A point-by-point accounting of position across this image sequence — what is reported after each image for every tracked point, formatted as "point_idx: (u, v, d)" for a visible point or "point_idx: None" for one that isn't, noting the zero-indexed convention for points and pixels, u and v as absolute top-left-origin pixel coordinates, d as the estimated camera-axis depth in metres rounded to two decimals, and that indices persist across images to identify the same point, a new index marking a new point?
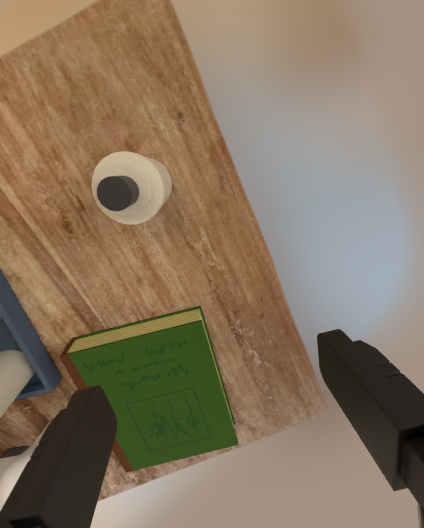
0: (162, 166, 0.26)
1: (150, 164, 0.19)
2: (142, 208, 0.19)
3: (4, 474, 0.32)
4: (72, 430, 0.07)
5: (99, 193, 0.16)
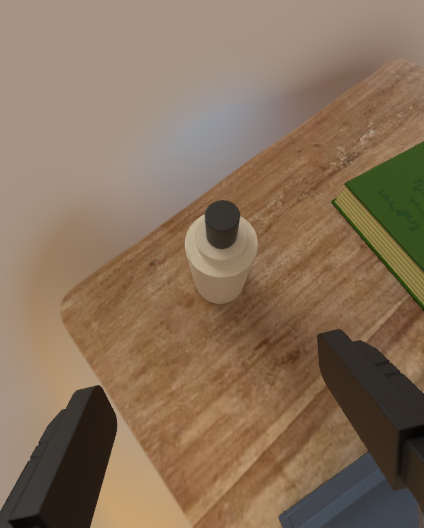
0: None
1: (191, 227, 0.20)
2: None
3: None
4: (72, 430, 0.07)
5: (225, 227, 0.15)
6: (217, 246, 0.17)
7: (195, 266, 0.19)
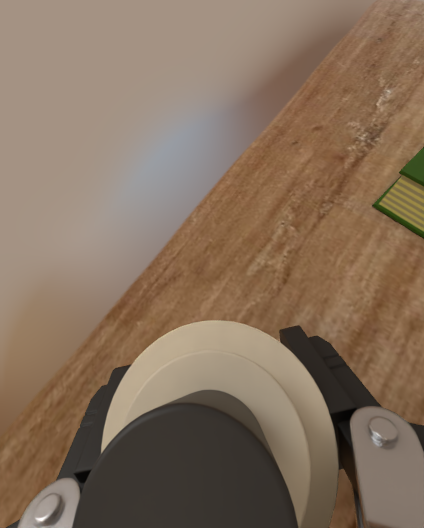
0: None
1: (115, 402, 0.06)
2: (234, 359, 0.06)
3: None
4: None
5: None
6: None
7: None
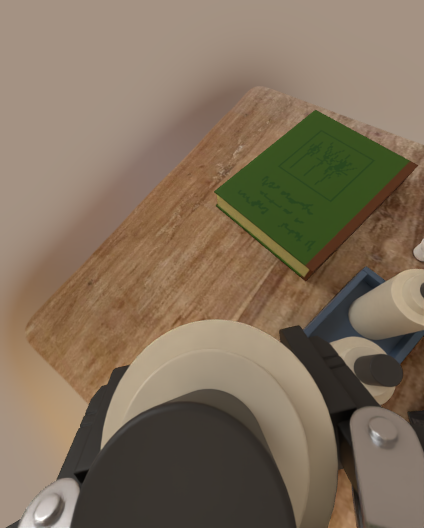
0: None
1: (114, 401, 0.06)
2: (234, 358, 0.06)
3: None
4: None
5: None
6: None
7: None
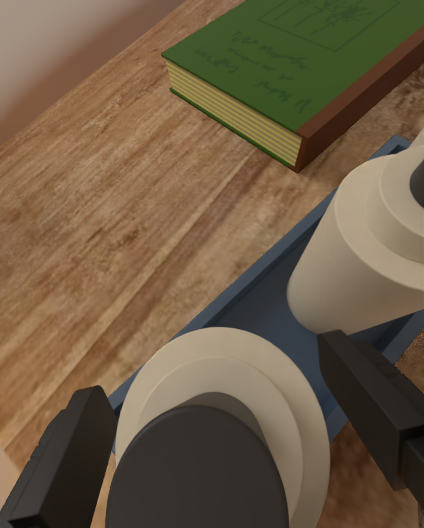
0: None
1: (127, 402, 0.07)
2: (236, 364, 0.06)
3: None
4: (72, 430, 0.07)
5: None
6: None
7: None
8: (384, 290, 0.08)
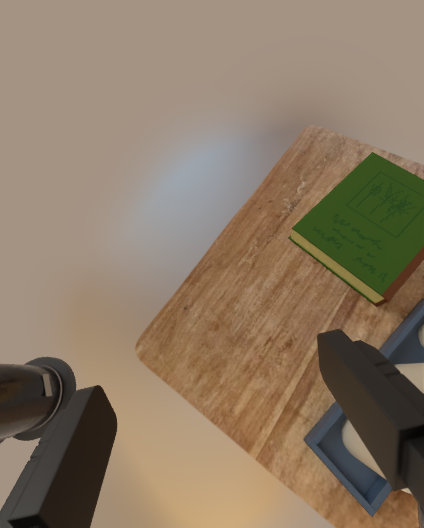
0: (349, 432, 0.33)
1: None
2: None
3: None
4: (72, 430, 0.07)
5: None
6: None
7: None
8: None
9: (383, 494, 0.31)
